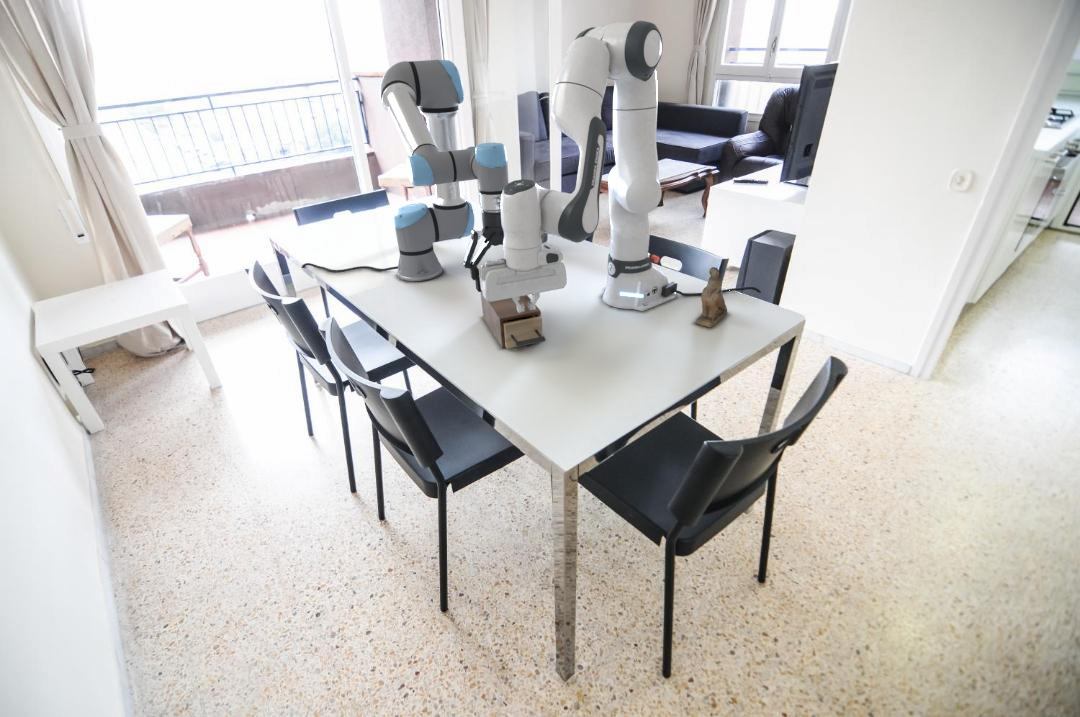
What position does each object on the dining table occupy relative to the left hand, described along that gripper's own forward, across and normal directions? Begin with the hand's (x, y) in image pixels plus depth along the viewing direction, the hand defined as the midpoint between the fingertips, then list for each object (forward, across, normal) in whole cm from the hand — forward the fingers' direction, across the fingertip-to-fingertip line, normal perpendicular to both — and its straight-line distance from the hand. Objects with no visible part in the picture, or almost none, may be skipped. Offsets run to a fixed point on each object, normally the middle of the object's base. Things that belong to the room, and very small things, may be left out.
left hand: (502, 286), depth 138 cm
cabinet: (+10, 0, -6) cm, 12 cm away
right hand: (-1, 0, -21) cm, 21 cm away
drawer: (+10, 0, -11) cm, 15 cm away
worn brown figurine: (+11, +54, -23) cm, 59 cm away
